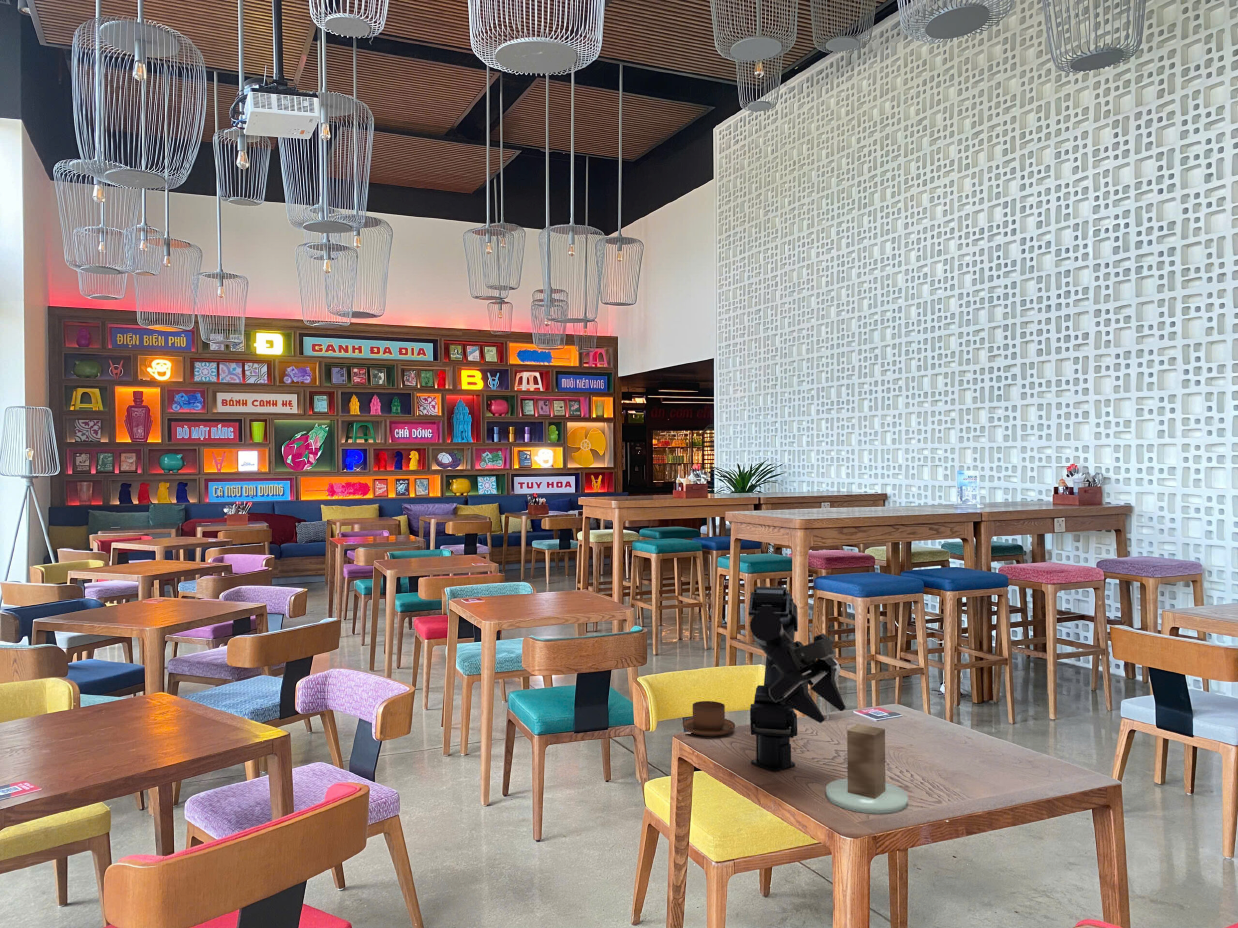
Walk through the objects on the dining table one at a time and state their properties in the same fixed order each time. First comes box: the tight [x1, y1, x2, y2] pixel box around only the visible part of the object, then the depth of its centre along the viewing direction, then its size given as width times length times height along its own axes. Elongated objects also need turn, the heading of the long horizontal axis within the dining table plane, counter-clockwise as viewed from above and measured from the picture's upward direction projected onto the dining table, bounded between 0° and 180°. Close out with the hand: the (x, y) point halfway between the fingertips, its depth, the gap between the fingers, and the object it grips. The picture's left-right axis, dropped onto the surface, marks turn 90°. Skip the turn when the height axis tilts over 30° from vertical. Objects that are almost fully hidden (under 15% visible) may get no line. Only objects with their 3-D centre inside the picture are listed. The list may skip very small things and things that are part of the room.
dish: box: [825, 777, 909, 815], centre depth 148 cm, size 14×14×1 cm
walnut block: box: [846, 723, 886, 799], centre depth 148 cm, size 5×5×11 cm
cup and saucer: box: [681, 700, 736, 737], centre depth 189 cm, size 12×12×6 cm
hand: (833, 715), depth 152 cm, fingers open, 9 cm apart
